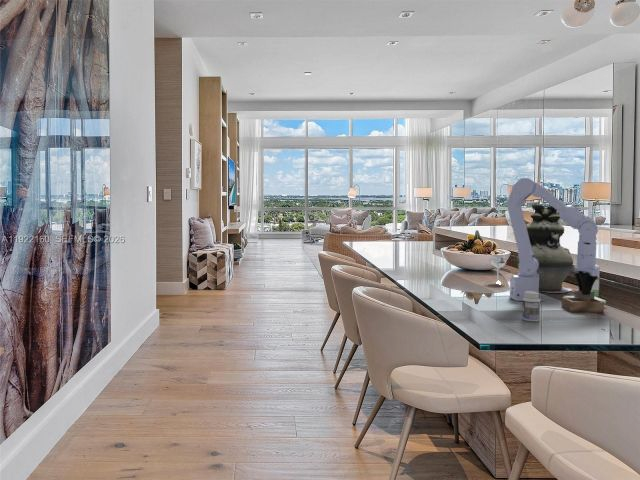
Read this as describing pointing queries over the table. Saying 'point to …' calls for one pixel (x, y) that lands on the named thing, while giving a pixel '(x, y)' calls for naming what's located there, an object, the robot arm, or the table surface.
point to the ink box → (596, 284)
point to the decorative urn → (549, 249)
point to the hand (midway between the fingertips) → (584, 294)
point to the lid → (580, 295)
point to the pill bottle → (531, 306)
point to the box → (582, 305)
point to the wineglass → (498, 264)
